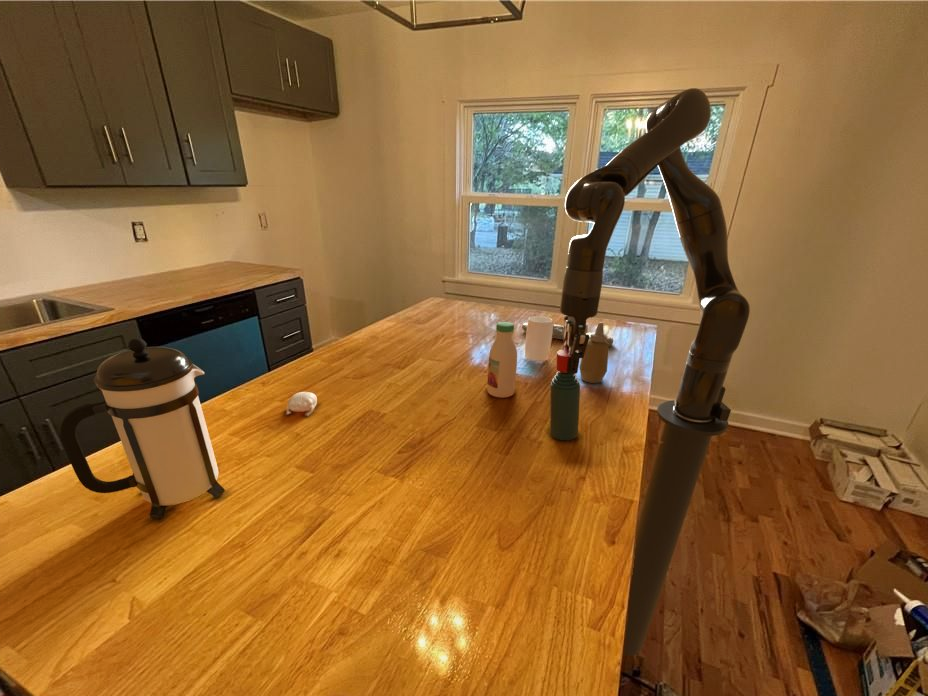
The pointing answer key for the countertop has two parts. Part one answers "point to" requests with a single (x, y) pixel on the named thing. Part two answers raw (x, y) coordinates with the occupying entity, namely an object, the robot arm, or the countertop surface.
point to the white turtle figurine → (302, 402)
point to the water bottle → (564, 406)
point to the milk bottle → (502, 362)
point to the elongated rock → (559, 332)
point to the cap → (562, 360)
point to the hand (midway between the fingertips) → (569, 368)
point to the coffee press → (151, 427)
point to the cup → (538, 338)
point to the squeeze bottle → (595, 357)
